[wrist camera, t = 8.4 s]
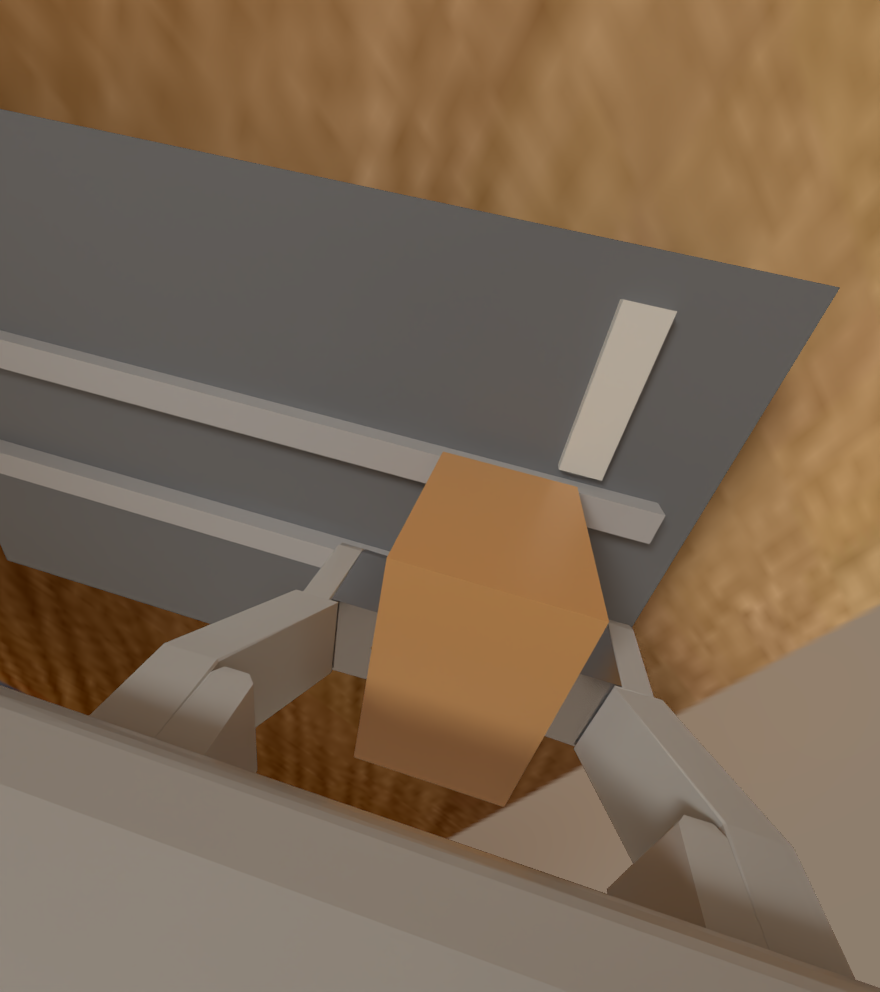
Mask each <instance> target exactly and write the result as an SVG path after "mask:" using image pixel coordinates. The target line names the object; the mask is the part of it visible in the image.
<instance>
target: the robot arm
mask: <svg viewBox="0 0 880 992" xmlns="http://www.w3.org/2000/svg"><path fill="white" fill-rule="evenodd" d="M386 559H387V556H386V555H383V554H379V553H376V552H373V551H370V550H367V549H365V550H364V549H362V548H359V547H356V546H353V545H349V544H346V543H341V544H340V545H338V546H337V547H336V548H335V550H334V551H333V552H332V554H331V555H330V556H329V558H328V559H327V560H326V562H325V563H324V564H323V566H322V567H321V568H320V570H319V571H318V572H317V574H316V575H315V576H314V578H313V579H312V580H311V582H310V583H309V584H308V586H307V587H306V588H305V590H304V591H300V590H294V591H291V592H289V593H286V594H284V595H281V596H279V597H276V598H274V599H272V600H269V601H267V602H264V603H262V604H259V605H257V606H254V607H252V608H250V609H247V610H245V611H242V612H240V613H237V614H235V615H232V616H230V617H228V618H225V619H223V620H220V621H218V622H215V623H213V624H210V625H208V626H206V627H203V628H201V629H198V630H196V631H193V632H191V633H188V634H186V635H184V636H181V637H179V638H176V639H174V640H171V641H169V642H166V643H164V644H163V645H162V646H161V647H160V648H159V649H158V650H157V651H156V652H155V653H154V654H153V655H152V656H150V657H149V658H148V659H147V660H146V661H145V662H144V663H143V664H142V665H141V666H140V667H139V668H138V669H137V670H136V671H135V672H134V673H133V674H132V675H131V676H130V677H129V678H128V679H127V680H126V681H125V682H124V683H123V684H122V685H120V686H119V687H118V688H117V689H116V690H115V691H114V692H113V693H112V694H111V695H110V696H109V697H108V698H107V699H106V700H105V701H104V702H103V703H102V704H101V705H100V706H99V707H98V708H97V709H96V710H95V711H94V712H93V713H92V714H90V715H89V716H88V715H85V714H82V713H79V712H76V711H74V710H71V709H68V708H65V707H62V706H59V705H56V704H53V703H50V702H47V701H44V700H42V699H39V698H36V697H33V696H30V695H27V694H24V693H21V692H18V691H15V690H12V689H9V688H7V687H4V686H1V685H0V992H880V988H878V987H875V986H872V985H869V984H866V983H863V982H861V981H858V980H855V977H854V975H853V973H852V971H851V969H850V967H849V965H848V962H847V960H846V958H845V956H844V954H843V952H842V950H841V947H840V945H839V943H838V941H837V939H836V937H835V935H834V932H833V930H832V928H831V926H830V924H829V922H828V920H827V918H826V915H825V913H824V911H823V909H822V907H821V905H820V903H819V900H818V898H817V896H816V894H815V892H814V890H813V888H812V885H811V883H810V881H809V879H808V877H807V875H806V873H805V871H804V868H803V866H802V864H801V862H800V860H799V858H798V855H797V854H796V851H795V850H794V847H793V846H792V845H791V844H790V843H789V842H788V841H787V840H786V838H785V837H784V836H783V835H782V834H781V833H780V832H779V831H778V829H777V828H776V827H775V826H774V825H773V824H772V823H771V822H770V821H769V819H768V818H767V817H766V816H765V815H764V814H763V813H762V812H761V811H760V809H759V808H758V807H757V806H756V805H755V804H754V803H753V801H752V800H751V799H750V798H749V797H748V796H747V795H746V794H745V792H744V791H743V790H742V789H741V788H740V787H739V786H738V785H737V783H736V782H735V781H734V780H733V779H732V778H731V777H730V776H729V774H728V773H727V772H726V771H725V770H724V769H723V768H722V767H721V765H719V763H718V762H717V761H716V760H715V759H714V758H713V756H712V755H711V754H710V753H709V752H708V751H707V750H706V749H705V747H704V746H703V745H702V744H701V743H700V742H699V741H698V740H697V738H696V737H695V736H694V735H693V734H692V733H691V732H690V731H689V729H688V728H687V727H686V726H685V725H684V724H683V723H682V722H681V720H680V719H679V718H678V717H677V716H676V715H675V714H674V713H673V711H672V710H671V709H670V708H669V707H668V706H667V705H666V704H665V702H664V701H663V700H660V699H657V698H654V696H653V692H652V689H651V686H650V683H649V679H648V676H647V673H646V670H645V667H644V663H643V660H642V657H641V654H640V650H639V647H638V644H637V641H636V637H635V634H634V631H633V629H632V628H631V627H630V625H627V624H623V623H619V622H616V621H612V620H609V623H608V625H607V627H606V628H605V630H604V632H603V634H602V635H601V637H600V639H599V641H598V642H597V644H596V646H595V648H594V650H593V651H592V653H591V655H590V657H589V658H588V660H587V662H586V664H585V665H584V667H583V669H582V671H581V672H580V674H579V676H578V678H577V679H576V681H575V683H574V685H573V686H572V688H571V690H570V692H569V694H568V695H567V697H566V699H565V701H564V702H563V704H562V706H561V708H560V709H559V711H558V713H557V715H556V716H555V718H554V720H553V722H552V723H551V725H550V727H549V729H548V730H547V732H546V734H545V736H546V737H549V738H552V739H555V740H558V741H561V742H564V743H567V744H569V745H572V746H575V747H574V750H575V752H576V754H577V756H578V758H579V760H580V762H581V763H582V765H583V767H584V769H585V771H586V773H587V775H588V777H589V779H590V781H591V783H592V785H593V787H594V789H595V790H596V793H597V794H598V796H599V798H600V800H601V802H602V804H603V806H604V808H605V810H606V812H607V814H608V816H609V818H610V820H611V822H612V824H613V825H614V827H615V829H616V831H617V833H618V835H619V837H620V839H621V841H622V843H623V845H624V847H625V849H626V851H627V853H628V855H629V856H630V858H631V860H632V862H633V865H631V866H630V867H629V868H628V869H627V870H626V871H625V872H624V873H623V874H622V875H621V876H620V877H619V878H618V879H617V880H616V881H615V882H614V883H613V884H612V885H611V886H610V887H609V888H608V889H607V894H605V893H603V892H599V891H597V890H594V889H591V888H588V887H585V886H582V885H579V884H576V883H574V882H571V881H568V880H565V879H562V878H559V877H556V876H553V875H550V874H547V873H545V872H542V871H539V870H536V869H533V868H530V867H527V866H524V865H521V864H518V863H515V862H513V861H509V860H507V859H504V858H501V857H498V856H495V855H492V854H489V853H487V852H483V851H481V850H478V849H475V848H472V847H469V846H466V845H463V844H460V843H457V842H455V841H452V840H449V839H446V838H443V837H440V836H437V835H434V834H431V833H428V832H425V831H423V830H420V829H417V828H414V827H411V826H408V825H405V824H402V823H399V822H396V821H394V820H391V819H388V818H385V817H382V816H379V815H376V814H373V813H370V812H367V811H364V810H362V809H359V808H356V807H353V806H350V805H347V804H344V803H341V802H338V801H335V800H332V799H330V798H327V797H324V796H321V795H318V794H315V793H312V792H309V791H306V790H303V789H300V788H298V787H295V786H292V785H289V784H286V783H283V782H280V781H277V780H274V779H271V778H268V777H266V776H263V775H260V774H257V773H256V772H257V751H256V731H255V728H256V727H257V726H258V725H260V724H261V723H262V722H264V721H265V720H267V719H268V718H269V717H271V716H272V715H273V714H275V713H276V712H277V711H279V710H280V709H282V708H283V707H284V706H286V705H287V704H288V703H290V702H291V701H293V700H294V699H295V698H297V697H298V696H299V695H301V694H302V693H304V692H305V691H306V690H308V689H309V688H310V687H312V686H313V685H314V684H316V683H317V682H319V681H320V680H321V679H323V678H324V677H325V676H327V675H328V674H330V673H331V671H332V670H336V671H339V672H343V673H346V674H350V675H353V676H357V677H360V678H364V679H367V674H368V668H369V662H370V656H371V650H372V644H373V638H374V632H375V626H376V620H377V614H378V607H379V601H380V595H381V589H382V583H383V577H384V571H385V565H386Z"/></svg>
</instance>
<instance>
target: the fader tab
mask: <svg viewBox="0 0 880 992" xmlns="http://www.w3.org/2000/svg"><path fill="white" fill-rule="evenodd" d="M608 623H609V619H608V615H607V611H606V606H605V602H604V598H603V594H602V589H601V585H600V581H599V577H598V572H597V568H596V564H595V560H594V555H593V551H592V547H591V543H590V538H589V534H588V530H587V526H586V521H585V517H584V513H583V508H582V504H581V500H580V496H579V491H578V487H576V486H572V485H569V484H565V483H561V482H557V481H553V480H550V479H546V478H542V477H538V476H534V475H531V474H527V473H523V472H519V471H515V470H512V469H508V468H504V467H500V466H496V465H493V464H489V463H485V462H481V461H478V460H474V459H470V458H466V457H462V456H459V455H455V454H451V453H447V452H442V454H441V456H440V458H439V460H438V462H437V464H436V466H435V467H434V469H433V471H432V473H431V475H430V477H429V479H428V481H427V483H426V484H425V486H424V488H423V490H422V492H421V494H420V496H419V498H418V500H417V501H416V503H415V505H414V507H413V509H412V511H411V513H410V515H409V517H408V518H407V520H406V522H405V524H404V526H403V528H402V530H401V532H400V534H399V535H398V537H397V539H396V541H395V543H394V545H393V547H392V549H391V550H390V552H389V554H388V556H387V559H386V565H385V571H384V577H383V583H382V589H381V595H380V601H379V607H378V614H377V620H376V626H375V632H374V638H373V644H372V650H371V656H370V662H369V668H368V674H367V680H366V687H365V693H364V699H363V705H362V711H361V717H360V723H359V729H358V735H357V741H356V747H355V753H354V757H355V758H358V759H361V760H364V761H367V762H370V763H373V764H376V765H379V766H382V767H385V768H388V769H391V770H394V771H397V772H400V773H403V774H406V775H409V776H412V777H415V778H418V779H421V780H424V781H427V782H430V783H433V784H436V785H439V786H442V787H445V788H448V789H451V790H454V791H457V792H460V793H463V794H466V795H469V796H472V797H475V798H478V799H481V800H484V801H487V802H490V803H493V804H496V805H499V806H502V807H504V806H505V804H506V803H507V801H508V799H509V797H510V796H511V794H512V792H513V790H514V789H515V787H516V785H517V783H518V782H519V780H520V778H521V776H522V775H523V773H524V771H525V769H526V767H527V766H528V764H529V762H530V760H531V759H532V757H533V755H534V753H535V752H536V750H537V748H538V746H539V745H540V743H541V741H542V739H543V738H544V736H545V734H546V732H547V730H548V729H549V727H550V725H551V723H552V722H553V720H554V718H555V716H556V715H557V713H558V711H559V709H560V708H561V706H562V704H563V702H564V701H565V699H566V697H567V695H568V694H569V692H570V690H571V688H572V686H573V685H574V683H575V681H576V679H577V678H578V676H579V674H580V672H581V671H582V669H583V667H584V665H585V664H586V662H587V660H588V658H589V657H590V655H591V653H592V651H593V650H594V648H595V646H596V644H597V642H598V641H599V639H600V637H601V635H602V634H603V632H604V630H605V628H606V627H607V625H608Z"/></svg>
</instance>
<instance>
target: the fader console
mask: <svg viewBox="0 0 880 992" xmlns="http://www.w3.org/2000/svg"><path fill="white" fill-rule="evenodd" d="M838 290H839V287H835V286H830V285H825V284H820V283H816V282H811V281H806V280H802V279H797V278H792V277H787V276H783V275H778V274H773V273H769V272H764V271H759V270H755V269H750V268H745V267H740V266H736V265H731V264H726V263H722V262H717V261H712V260H708V259H703V258H698V257H693V256H689V255H684V254H679V253H675V252H670V251H665V250H661V249H656V248H651V247H646V246H642V245H637V244H632V243H628V242H623V241H618V240H614V239H609V238H604V237H599V236H595V235H590V234H585V233H581V232H576V231H571V230H567V229H562V228H557V227H552V226H548V225H543V224H538V223H534V222H529V221H524V220H519V219H515V218H510V217H505V216H501V215H496V214H491V213H487V212H482V211H477V210H472V209H468V208H463V207H458V206H454V205H449V204H444V203H440V202H435V201H430V200H425V199H421V198H416V197H411V196H407V195H402V194H397V193H393V192H388V191H383V190H378V189H374V188H369V187H364V186H360V185H355V184H350V183H346V182H341V181H336V180H331V179H327V178H322V177H317V176H313V175H308V174H303V173H299V172H294V171H289V170H284V169H280V168H275V167H270V166H266V165H261V164H256V163H252V162H247V161H242V160H237V159H233V158H228V157H223V156H219V155H214V154H209V153H204V152H200V151H195V150H190V149H186V148H181V147H176V146H172V145H167V144H162V143H157V142H153V141H148V140H143V139H139V138H134V137H129V136H125V135H120V134H115V133H110V132H106V131H101V130H96V129H92V128H87V127H82V126H78V125H73V124H68V123H63V122H59V121H54V120H49V119H45V118H40V117H35V116H31V115H26V114H21V113H16V112H12V111H7V110H2V109H0V544H1V547H2V549H3V551H4V554H5V556H6V558H7V560H9V561H12V562H15V563H18V564H21V565H25V566H28V567H31V568H34V569H37V570H40V571H44V572H47V573H50V574H53V575H56V576H60V577H63V578H66V579H69V580H72V581H75V582H79V583H82V584H85V585H88V586H91V587H95V588H98V589H101V590H104V591H107V592H111V593H114V594H117V595H120V596H123V597H126V598H130V599H133V600H136V601H139V602H142V603H146V604H149V605H152V606H155V607H158V608H161V609H165V610H168V611H171V612H174V613H177V614H181V615H184V616H187V617H190V618H193V619H196V620H200V621H203V622H206V623H209V624H213V623H215V622H218V621H220V620H223V619H225V618H228V617H230V616H232V615H235V614H237V613H240V612H242V611H245V610H247V609H250V608H252V607H254V606H257V605H259V604H262V603H264V602H267V601H269V600H272V599H274V598H276V597H279V596H281V595H284V594H286V593H289V592H291V591H294V590H300V591H304V590H305V588H306V587H307V586H308V584H309V583H310V582H311V580H312V579H313V578H314V576H315V575H316V574H317V572H318V571H319V570H320V568H321V567H322V566H323V564H324V563H325V562H326V560H327V559H328V558H329V556H330V555H331V554H332V552H333V551H334V550H335V548H336V547H337V546H338V545H340V544H341V543H346V544H349V545H353V546H356V547H359V548H362V549H364V550H365V549H367V550H370V551H373V552H376V553H379V554H383V555H386V556H388V554H389V552H390V550H391V549H392V547H393V545H394V543H395V541H396V539H397V537H398V535H399V534H400V532H401V530H402V528H403V526H404V524H405V522H406V520H407V518H408V517H409V515H410V513H411V511H412V509H413V507H414V505H415V503H416V501H417V500H418V498H419V496H420V494H421V492H422V490H423V488H424V486H425V484H426V483H427V481H428V479H429V477H430V475H431V473H432V471H433V469H434V467H435V466H436V464H437V462H438V460H439V458H440V456H441V454H442V452H447V453H451V454H455V455H459V456H462V457H466V458H470V459H474V460H478V461H481V462H485V463H489V464H493V465H496V466H500V467H504V468H508V469H512V470H515V471H519V472H523V473H527V474H531V475H534V476H538V477H542V478H546V479H550V480H553V481H557V482H561V483H565V484H569V485H572V486H576V487H578V491H579V496H580V500H581V504H582V508H583V513H584V517H585V521H586V526H587V530H588V534H589V538H590V543H591V547H592V551H593V555H594V560H595V564H596V568H597V572H598V577H599V581H600V585H601V589H602V594H603V598H604V602H605V606H606V611H607V615H608V619H609V620H612V621H616V622H619V623H623V624H627V625H630V627H631V628H632V626H633V625H634V623H635V621H636V620H637V618H638V616H639V615H640V613H641V611H642V610H643V608H644V607H645V605H646V603H647V602H648V600H649V598H650V597H651V595H652V594H653V592H654V590H655V589H656V587H657V585H658V584H659V582H660V580H661V579H662V577H663V576H664V574H665V572H666V571H667V569H668V567H669V566H670V564H671V563H672V561H673V559H674V558H675V556H676V554H677V553H678V551H679V549H680V548H681V546H682V545H683V543H684V541H685V540H686V538H687V536H688V535H689V533H690V532H691V530H692V528H693V527H694V525H695V523H696V522H697V520H698V518H699V517H700V515H701V514H702V512H703V510H704V509H705V507H706V505H707V504H708V502H709V501H710V499H711V497H712V496H713V494H714V492H715V491H716V489H717V487H718V486H719V484H720V483H721V481H722V479H723V478H724V476H725V474H726V473H727V471H728V470H729V468H730V466H731V465H732V463H733V461H734V460H735V458H736V456H737V455H738V453H739V452H740V450H741V448H742V447H743V445H744V443H745V442H746V440H747V439H748V437H749V435H750V434H751V432H752V430H753V429H754V427H755V425H756V424H757V422H758V421H759V419H760V417H761V416H762V414H763V412H764V411H765V409H766V408H767V406H768V404H769V403H770V401H771V399H772V398H773V396H774V394H775V393H776V391H777V390H778V388H779V386H780V385H781V383H782V381H783V380H784V378H785V377H786V375H787V373H788V372H789V370H790V368H791V367H792V365H793V363H794V362H795V360H796V359H797V357H798V355H799V354H800V352H801V350H802V349H803V347H804V346H805V344H806V342H807V341H808V339H809V337H810V336H811V334H812V332H813V331H814V329H815V328H816V326H817V324H818V323H819V321H820V319H821V318H822V316H823V315H824V313H825V311H826V310H827V308H828V306H829V305H830V303H831V301H832V300H833V298H834V297H835V295H836V293H837V292H838Z"/></svg>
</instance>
